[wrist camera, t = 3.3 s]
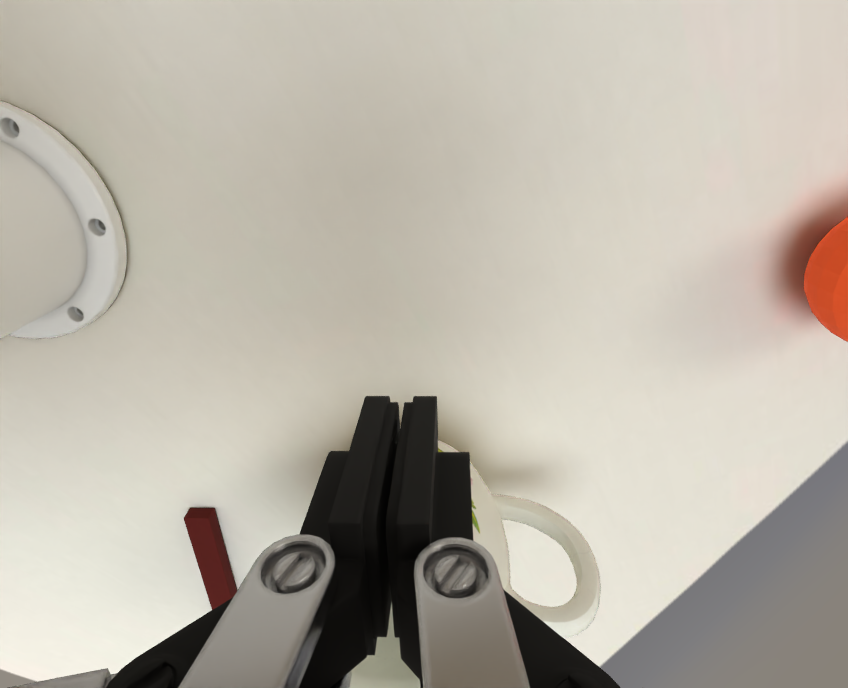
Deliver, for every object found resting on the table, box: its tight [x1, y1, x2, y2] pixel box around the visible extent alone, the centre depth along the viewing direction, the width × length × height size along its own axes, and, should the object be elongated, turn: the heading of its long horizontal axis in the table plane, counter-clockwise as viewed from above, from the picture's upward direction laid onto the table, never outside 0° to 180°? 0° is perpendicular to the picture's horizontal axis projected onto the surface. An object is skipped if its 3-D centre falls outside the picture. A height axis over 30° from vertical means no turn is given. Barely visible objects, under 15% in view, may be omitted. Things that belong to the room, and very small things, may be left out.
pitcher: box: [349, 440, 601, 688], centre depth 27 cm, size 11×18×14 cm, turn 92°
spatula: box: [184, 508, 237, 610], centre depth 40 cm, size 5×21×1 cm, turn 2°
